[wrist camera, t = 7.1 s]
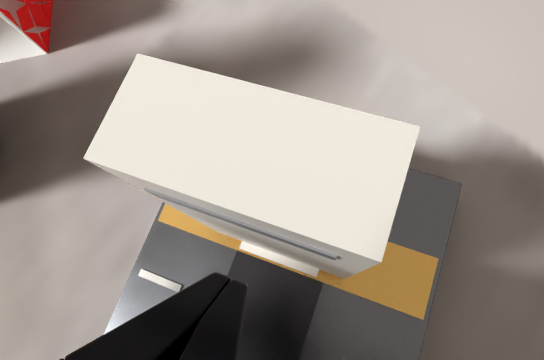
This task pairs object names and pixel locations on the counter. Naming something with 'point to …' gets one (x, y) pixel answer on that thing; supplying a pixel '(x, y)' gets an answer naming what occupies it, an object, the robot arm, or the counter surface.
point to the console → (309, 284)
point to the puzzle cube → (24, 28)
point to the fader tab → (259, 164)
